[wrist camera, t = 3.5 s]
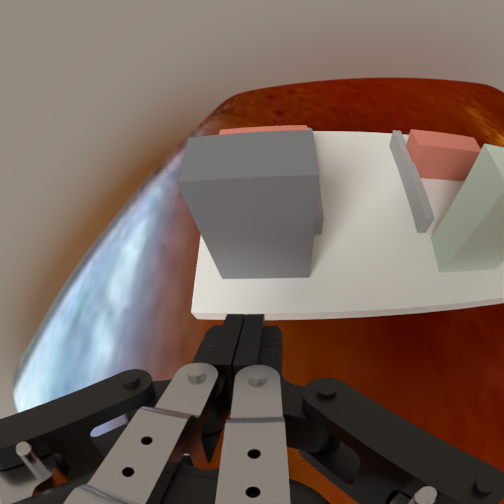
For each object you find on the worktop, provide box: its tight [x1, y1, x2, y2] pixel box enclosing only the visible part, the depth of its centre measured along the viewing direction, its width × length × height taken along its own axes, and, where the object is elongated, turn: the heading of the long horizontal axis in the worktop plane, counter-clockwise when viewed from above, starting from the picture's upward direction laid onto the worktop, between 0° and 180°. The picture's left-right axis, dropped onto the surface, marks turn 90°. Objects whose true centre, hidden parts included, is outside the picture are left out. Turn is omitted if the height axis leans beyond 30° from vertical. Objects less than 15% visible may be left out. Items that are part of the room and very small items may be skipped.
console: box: [191, 125, 504, 320], centre depth 22 cm, size 26×18×6 cm
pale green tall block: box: [431, 144, 504, 273], centre depth 16 cm, size 6×3×10 cm, turn 88°
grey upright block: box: [177, 130, 320, 279], centre depth 17 cm, size 6×3×10 cm, turn 88°
